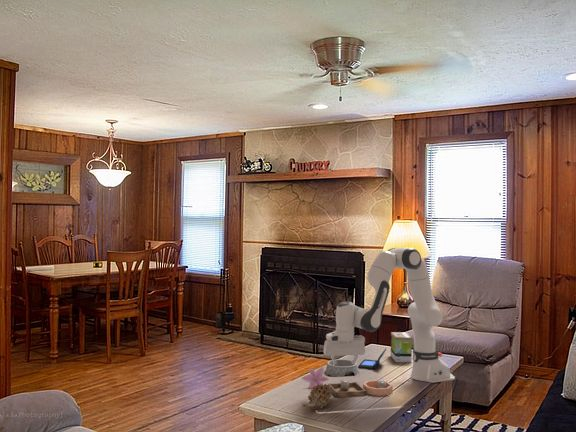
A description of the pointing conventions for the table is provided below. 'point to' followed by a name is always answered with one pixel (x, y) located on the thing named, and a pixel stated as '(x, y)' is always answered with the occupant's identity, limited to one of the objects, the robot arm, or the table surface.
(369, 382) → the bowl
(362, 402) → the table surface
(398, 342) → the tea box
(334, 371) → the dog bowl
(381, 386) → the grey rounded cylinder
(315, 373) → the lily
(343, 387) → the pebble
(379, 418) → the table surface
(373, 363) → the handheld game console
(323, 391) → the pine cone
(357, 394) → the tray
